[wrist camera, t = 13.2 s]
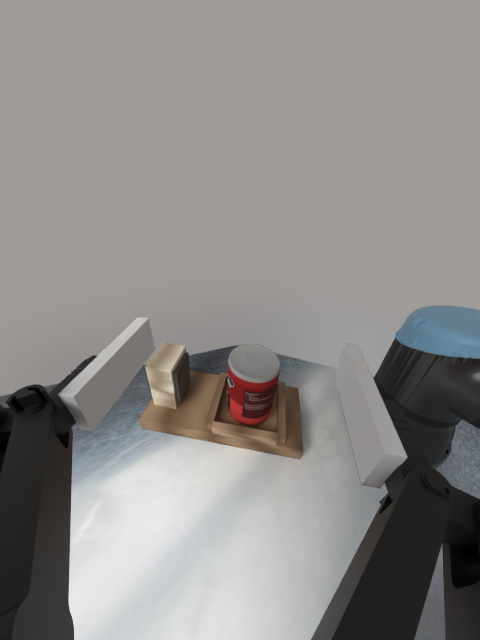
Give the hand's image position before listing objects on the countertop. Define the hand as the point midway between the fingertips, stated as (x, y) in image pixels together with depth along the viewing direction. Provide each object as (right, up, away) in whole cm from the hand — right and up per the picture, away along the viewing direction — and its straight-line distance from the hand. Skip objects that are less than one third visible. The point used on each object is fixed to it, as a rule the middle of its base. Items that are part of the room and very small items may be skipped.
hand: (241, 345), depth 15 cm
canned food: (+1, -14, +24) cm, 28 cm away
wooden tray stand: (-3, -15, +26) cm, 30 cm away
